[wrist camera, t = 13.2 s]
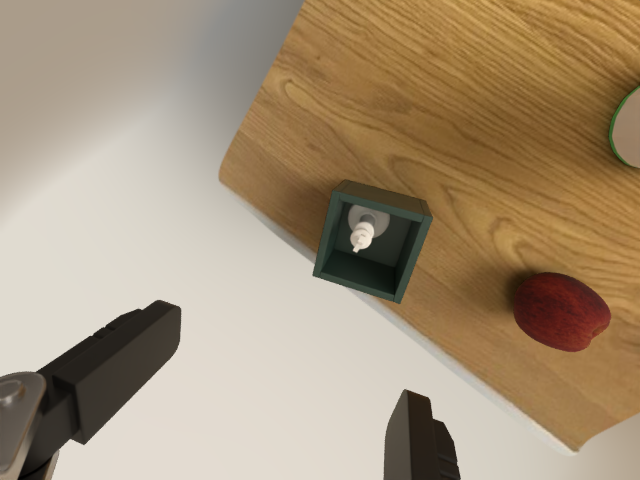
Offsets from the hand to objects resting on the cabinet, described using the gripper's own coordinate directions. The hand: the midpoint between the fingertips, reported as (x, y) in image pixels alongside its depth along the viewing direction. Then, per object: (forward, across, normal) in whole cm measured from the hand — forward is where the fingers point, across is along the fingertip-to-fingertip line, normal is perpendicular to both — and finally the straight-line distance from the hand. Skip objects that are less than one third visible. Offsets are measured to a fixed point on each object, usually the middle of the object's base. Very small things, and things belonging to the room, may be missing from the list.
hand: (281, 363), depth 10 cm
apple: (+27, -22, +5) cm, 36 cm away
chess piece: (+27, -1, +2) cm, 27 cm away
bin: (+28, -2, +3) cm, 28 cm away
